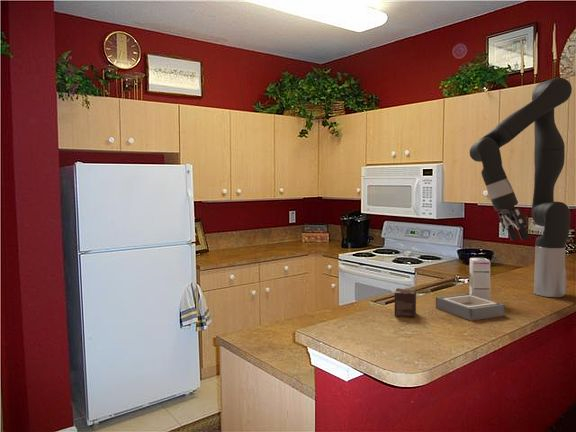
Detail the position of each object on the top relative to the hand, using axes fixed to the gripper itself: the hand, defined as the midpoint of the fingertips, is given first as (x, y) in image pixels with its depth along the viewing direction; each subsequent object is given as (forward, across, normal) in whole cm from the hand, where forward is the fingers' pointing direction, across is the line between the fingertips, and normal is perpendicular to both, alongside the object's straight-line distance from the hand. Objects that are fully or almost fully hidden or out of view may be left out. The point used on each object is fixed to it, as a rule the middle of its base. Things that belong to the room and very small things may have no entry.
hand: (520, 239), depth 150 cm
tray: (+14, -12, +27) cm, 33 cm away
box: (+8, -17, +46) cm, 50 cm away
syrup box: (+15, 0, +20) cm, 25 cm away
